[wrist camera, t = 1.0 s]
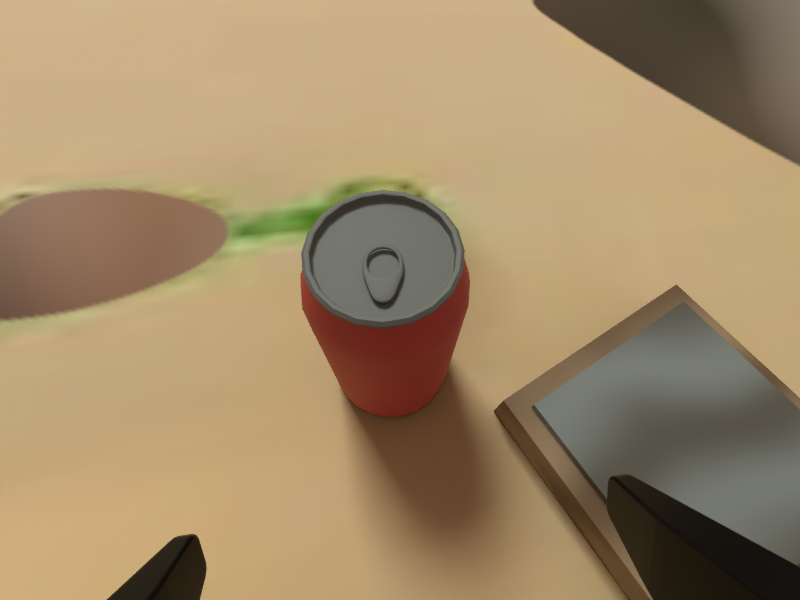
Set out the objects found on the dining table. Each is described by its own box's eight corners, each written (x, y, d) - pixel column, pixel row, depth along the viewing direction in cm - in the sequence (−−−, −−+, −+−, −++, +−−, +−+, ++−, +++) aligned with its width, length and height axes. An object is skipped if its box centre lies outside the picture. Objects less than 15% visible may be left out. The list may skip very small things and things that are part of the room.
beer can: (333, 420, 23) (272, 342, 12) (339, 315, 26) (295, 179, 15) (449, 418, 23) (491, 339, 12) (442, 313, 26) (470, 176, 15)
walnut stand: (847, 492, 21) (912, 490, 18) (676, 664, 18) (724, 692, 15) (652, 303, 26) (681, 280, 23) (493, 411, 23) (505, 398, 20)
